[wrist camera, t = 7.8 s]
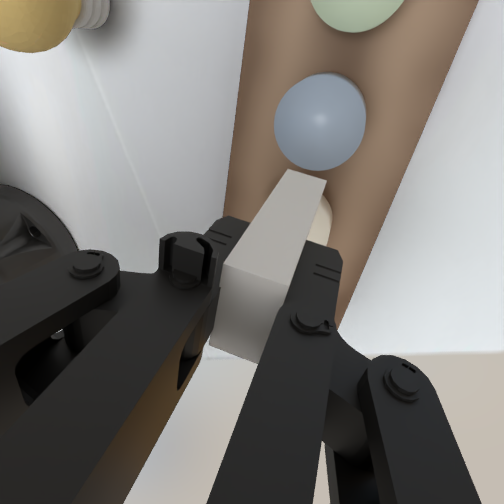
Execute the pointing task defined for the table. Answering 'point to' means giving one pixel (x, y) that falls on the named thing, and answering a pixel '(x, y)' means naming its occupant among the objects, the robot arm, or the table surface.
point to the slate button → (320, 121)
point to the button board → (376, 99)
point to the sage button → (355, 13)
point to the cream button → (321, 223)
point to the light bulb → (47, 21)
